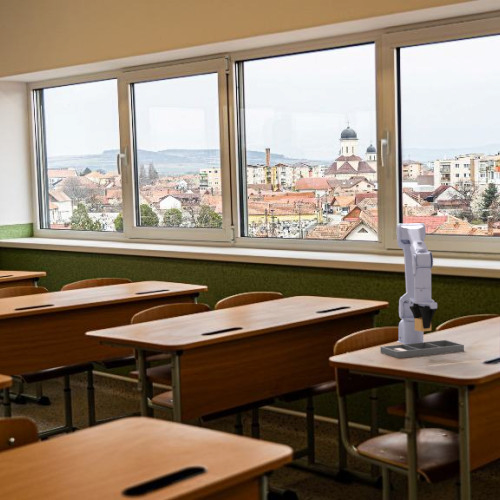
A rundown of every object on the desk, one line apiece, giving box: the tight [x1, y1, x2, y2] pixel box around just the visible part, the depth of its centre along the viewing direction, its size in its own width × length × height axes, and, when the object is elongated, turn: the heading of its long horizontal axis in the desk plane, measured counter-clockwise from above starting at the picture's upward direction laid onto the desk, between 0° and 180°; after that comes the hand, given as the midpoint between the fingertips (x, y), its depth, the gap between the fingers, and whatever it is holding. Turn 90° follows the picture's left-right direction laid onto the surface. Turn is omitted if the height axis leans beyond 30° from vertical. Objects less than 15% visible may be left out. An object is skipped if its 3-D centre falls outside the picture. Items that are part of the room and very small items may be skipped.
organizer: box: [380, 339, 465, 359], centre depth 315 cm, size 11×26×2 cm, turn 112°
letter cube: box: [415, 318, 432, 332], centre depth 311 cm, size 4×4×4 cm
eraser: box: [394, 348, 408, 352], centre depth 312 cm, size 5×2×2 cm, turn 22°
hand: (423, 327), depth 311 cm, fingers closed on letter cube, 4 cm apart
